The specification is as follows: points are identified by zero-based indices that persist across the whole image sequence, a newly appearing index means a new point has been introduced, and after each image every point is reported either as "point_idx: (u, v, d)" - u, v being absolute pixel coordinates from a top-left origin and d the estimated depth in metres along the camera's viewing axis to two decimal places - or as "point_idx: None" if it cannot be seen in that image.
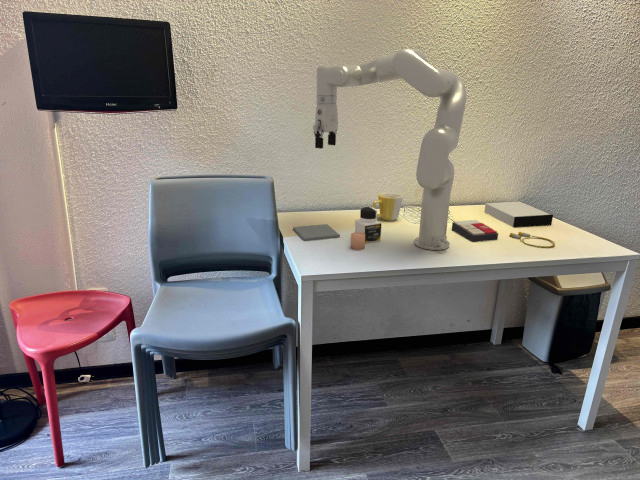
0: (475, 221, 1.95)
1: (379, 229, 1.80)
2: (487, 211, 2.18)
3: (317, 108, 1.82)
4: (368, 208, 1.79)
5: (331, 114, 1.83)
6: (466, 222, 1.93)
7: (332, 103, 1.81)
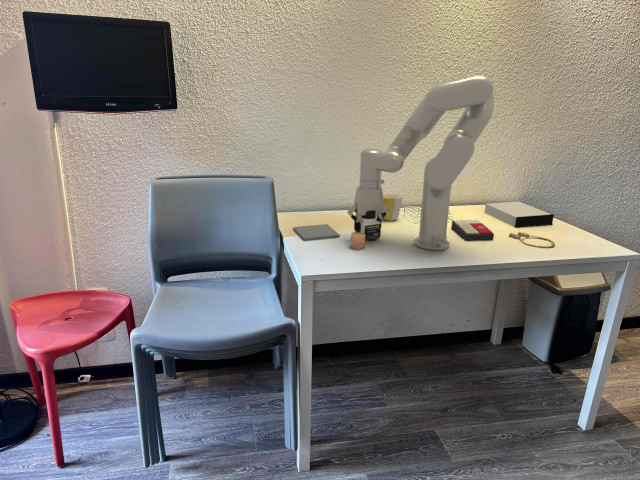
0: (476, 221, 1.95)
1: (379, 229, 1.80)
2: (487, 211, 2.17)
3: None
4: None
5: None
6: (466, 221, 1.94)
7: None
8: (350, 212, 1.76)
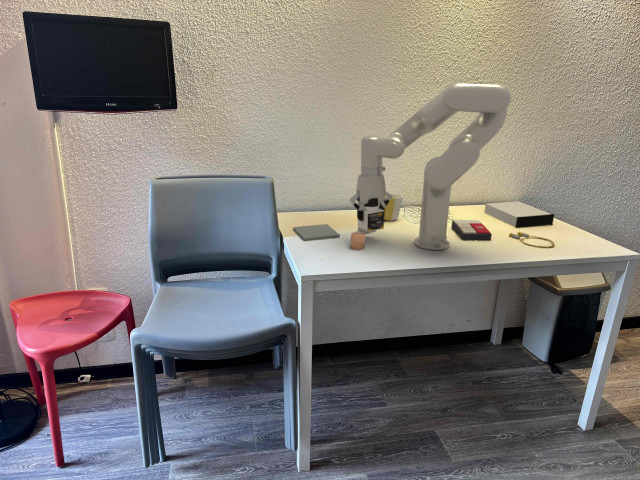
0: (476, 221, 1.95)
1: (382, 217, 1.78)
2: (487, 211, 2.17)
3: None
4: None
5: None
6: (465, 221, 1.94)
7: None
8: (352, 200, 1.75)
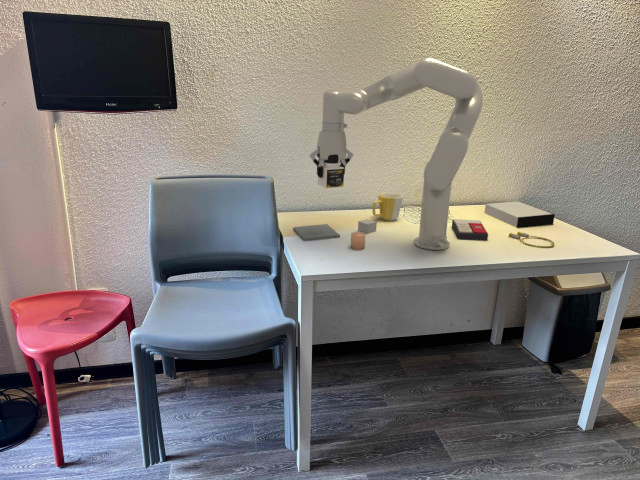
0: (476, 221, 1.95)
1: (342, 174, 1.77)
2: (488, 212, 2.17)
3: None
4: None
5: None
6: (465, 221, 1.95)
7: None
8: (312, 156, 1.74)
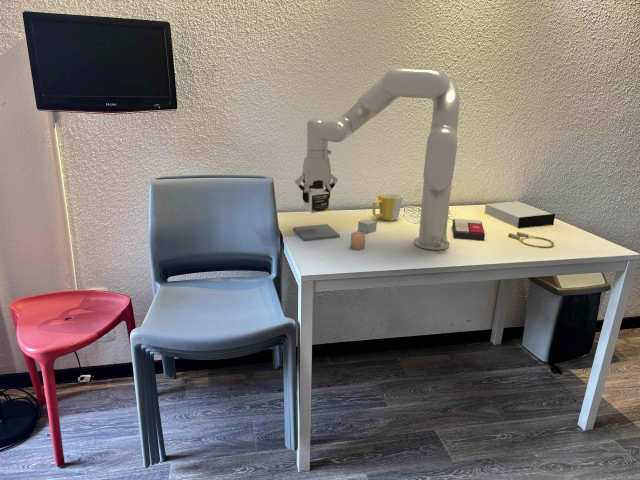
0: (476, 221, 1.95)
1: (327, 199, 1.82)
2: (488, 212, 2.16)
3: (329, 161, 1.80)
4: None
5: None
6: (465, 221, 1.95)
7: None
8: (297, 182, 1.79)
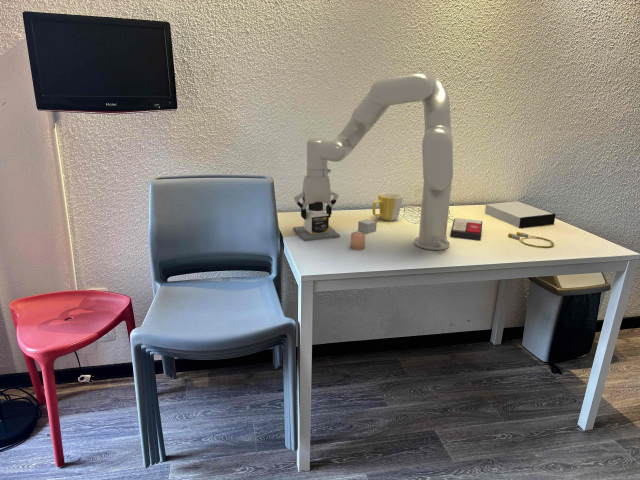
0: (477, 221, 1.94)
1: (326, 221, 1.85)
2: (488, 212, 2.16)
3: None
4: None
5: None
6: (466, 220, 1.95)
7: None
8: (296, 199, 1.81)
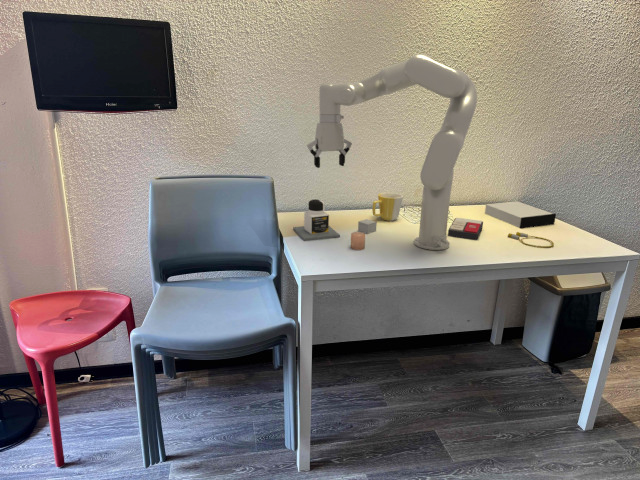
0: (477, 221, 1.94)
1: (326, 221, 1.85)
2: (488, 212, 2.16)
3: None
4: (316, 200, 1.84)
5: None
6: (466, 220, 1.96)
7: None
8: (310, 146, 1.78)
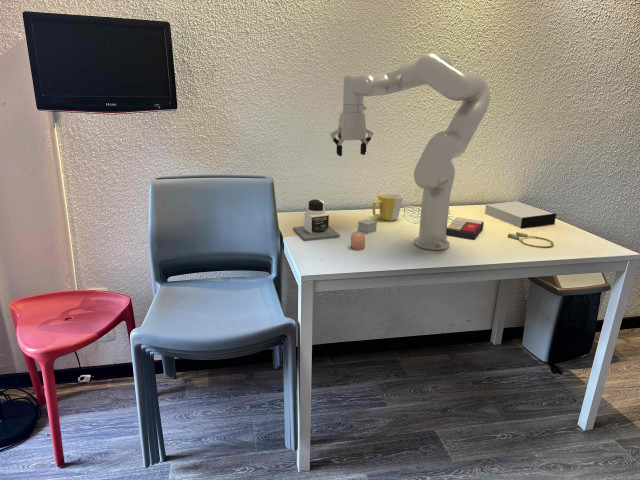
0: (477, 221, 1.94)
1: (326, 221, 1.85)
2: (488, 212, 2.16)
3: (364, 116, 1.85)
4: (316, 200, 1.84)
5: None
6: (466, 220, 1.96)
7: None
8: (333, 135, 1.84)
